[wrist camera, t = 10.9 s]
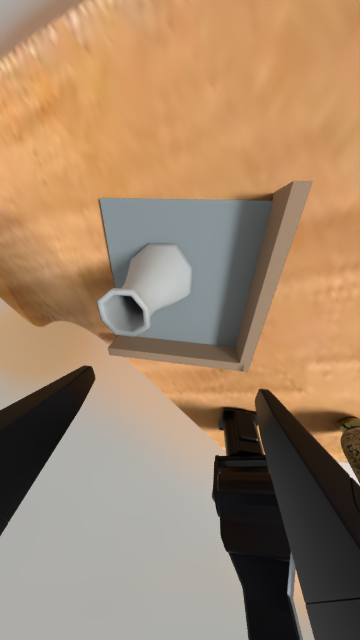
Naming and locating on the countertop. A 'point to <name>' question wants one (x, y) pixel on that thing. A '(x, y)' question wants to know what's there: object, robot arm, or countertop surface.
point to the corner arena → (207, 271)
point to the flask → (147, 289)
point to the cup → (351, 442)
